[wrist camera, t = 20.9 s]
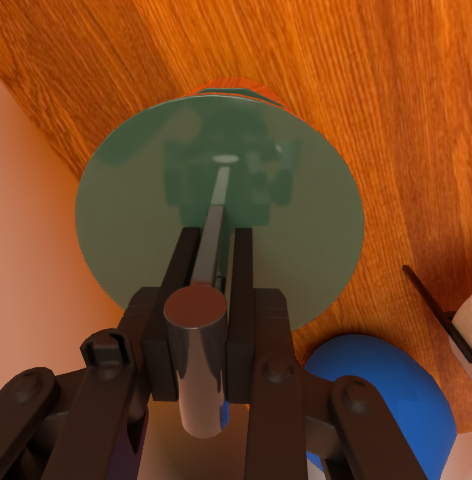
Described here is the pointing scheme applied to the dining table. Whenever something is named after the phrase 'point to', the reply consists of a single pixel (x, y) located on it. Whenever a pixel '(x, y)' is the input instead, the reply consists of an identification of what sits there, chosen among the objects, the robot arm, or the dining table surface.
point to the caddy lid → (218, 224)
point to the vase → (393, 393)
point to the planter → (460, 329)
